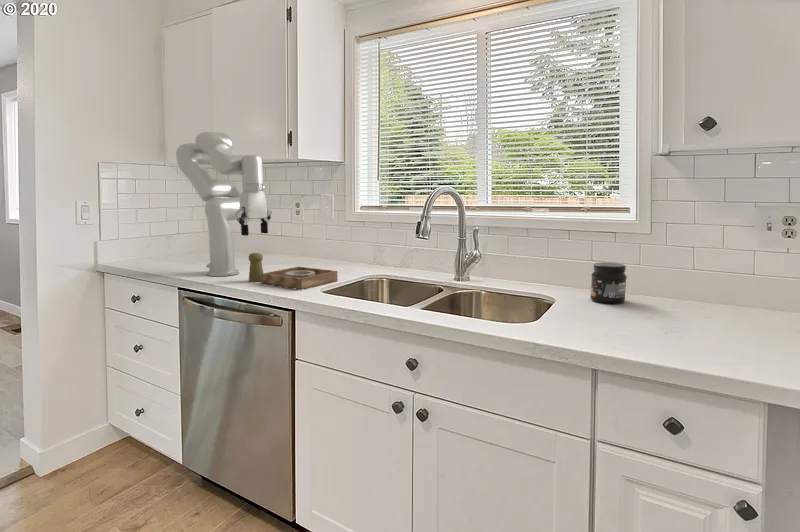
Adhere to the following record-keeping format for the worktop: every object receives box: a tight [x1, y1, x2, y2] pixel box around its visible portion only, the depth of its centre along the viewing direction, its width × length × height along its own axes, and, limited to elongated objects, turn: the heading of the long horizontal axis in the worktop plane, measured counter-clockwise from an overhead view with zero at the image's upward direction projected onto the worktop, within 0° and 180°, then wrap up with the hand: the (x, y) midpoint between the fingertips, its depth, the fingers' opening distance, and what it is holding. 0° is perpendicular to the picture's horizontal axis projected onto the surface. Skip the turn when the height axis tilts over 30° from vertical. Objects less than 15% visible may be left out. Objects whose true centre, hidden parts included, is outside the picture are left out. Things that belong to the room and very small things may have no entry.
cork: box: [248, 252, 264, 283], centre depth 199 cm, size 6×6×11 cm
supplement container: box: [590, 262, 628, 305], centre depth 167 cm, size 10×10×12 cm
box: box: [261, 266, 338, 290], centre depth 198 cm, size 20×20×4 cm
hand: (255, 234), depth 197 cm, fingers open, 9 cm apart
